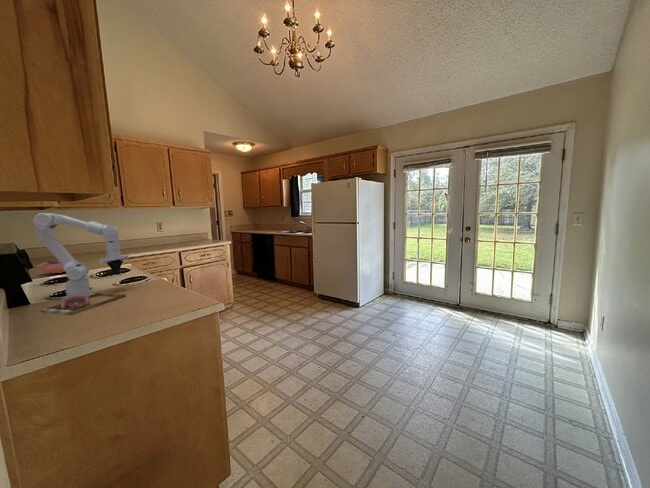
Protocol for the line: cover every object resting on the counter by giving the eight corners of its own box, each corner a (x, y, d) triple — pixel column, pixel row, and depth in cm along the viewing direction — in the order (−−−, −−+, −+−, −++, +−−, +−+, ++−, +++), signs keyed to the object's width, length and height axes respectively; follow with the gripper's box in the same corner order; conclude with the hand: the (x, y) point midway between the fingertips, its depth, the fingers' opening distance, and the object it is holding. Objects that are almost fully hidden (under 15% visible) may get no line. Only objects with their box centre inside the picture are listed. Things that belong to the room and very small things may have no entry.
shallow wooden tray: (41, 312, 119) (40, 309, 119) (98, 294, 142) (97, 292, 142) (72, 314, 115) (72, 311, 115) (125, 296, 138) (125, 294, 138)
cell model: (40, 274, 197) (37, 259, 196) (77, 269, 210) (75, 255, 209) (37, 278, 185) (35, 261, 183) (77, 273, 198) (75, 257, 196)
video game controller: (91, 307, 128) (89, 292, 130) (89, 305, 125) (88, 290, 126) (62, 312, 122) (61, 297, 124) (60, 310, 119) (59, 295, 120)
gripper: (105, 251, 137) (108, 278, 139) (131, 247, 151) (134, 271, 153) (94, 251, 139) (98, 277, 140) (121, 247, 153) (124, 271, 154)
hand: (116, 274), depth 147 cm, fingers closed
